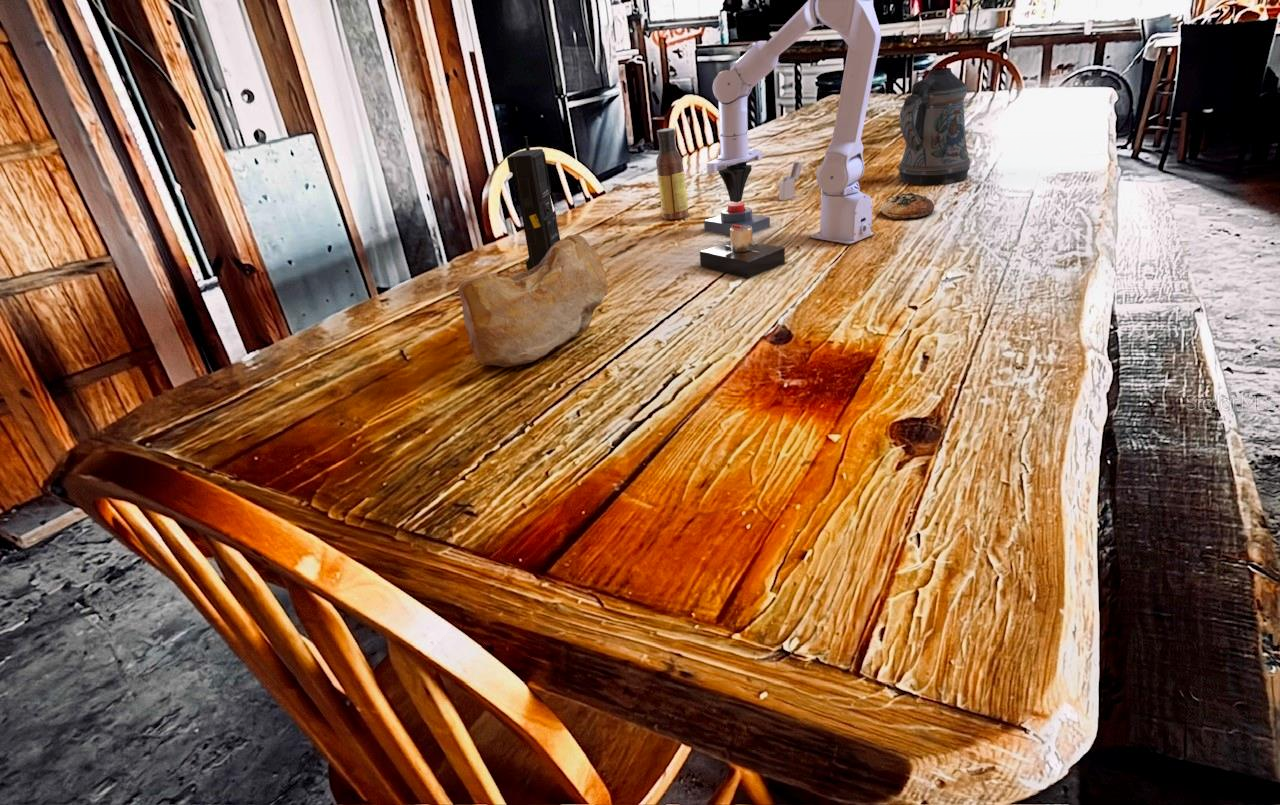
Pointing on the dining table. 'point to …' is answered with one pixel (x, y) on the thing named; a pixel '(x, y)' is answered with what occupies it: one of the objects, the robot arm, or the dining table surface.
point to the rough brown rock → (534, 305)
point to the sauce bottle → (671, 177)
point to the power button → (736, 207)
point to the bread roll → (907, 206)
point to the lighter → (789, 182)
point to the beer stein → (934, 131)
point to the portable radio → (534, 202)
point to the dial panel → (742, 259)
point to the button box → (736, 221)
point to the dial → (741, 238)
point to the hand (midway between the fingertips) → (735, 201)
